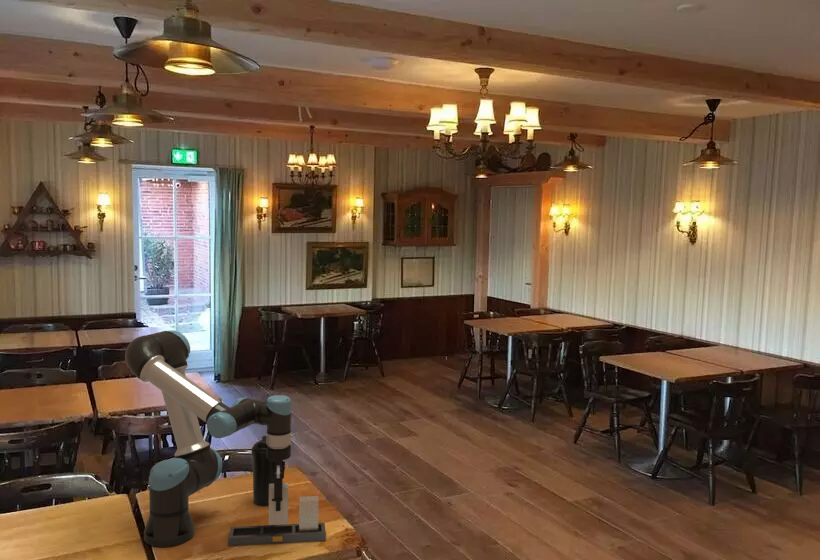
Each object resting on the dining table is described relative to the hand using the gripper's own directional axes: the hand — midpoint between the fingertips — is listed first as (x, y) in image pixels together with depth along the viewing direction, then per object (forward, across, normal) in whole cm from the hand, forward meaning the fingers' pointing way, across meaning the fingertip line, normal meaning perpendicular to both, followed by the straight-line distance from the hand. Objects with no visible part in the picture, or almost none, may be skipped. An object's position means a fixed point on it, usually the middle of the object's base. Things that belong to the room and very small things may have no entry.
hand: (278, 516), depth 213 cm
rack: (+7, 0, 0) cm, 7 cm away
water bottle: (+7, +28, +5) cm, 29 cm away
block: (+2, 0, 0) cm, 2 cm away
